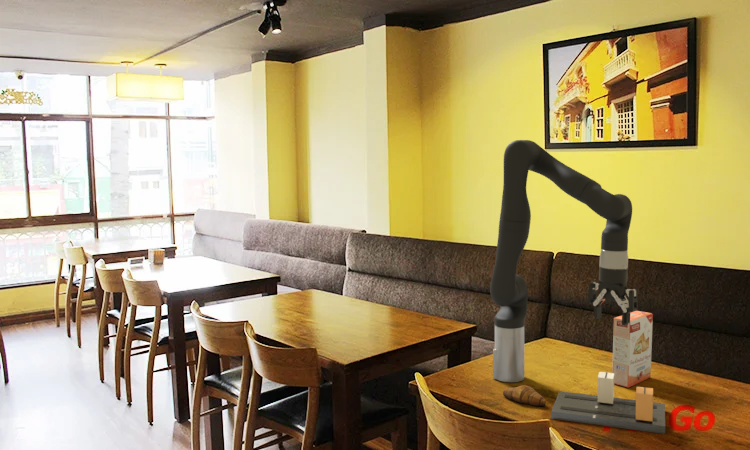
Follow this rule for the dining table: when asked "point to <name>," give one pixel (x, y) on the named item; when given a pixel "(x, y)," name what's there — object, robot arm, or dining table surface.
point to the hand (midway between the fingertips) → (611, 321)
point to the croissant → (524, 395)
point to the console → (606, 412)
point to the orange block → (644, 404)
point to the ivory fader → (605, 387)
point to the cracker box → (632, 349)
